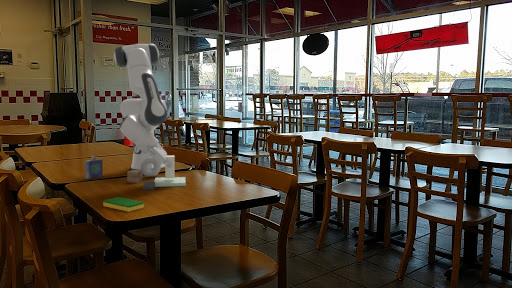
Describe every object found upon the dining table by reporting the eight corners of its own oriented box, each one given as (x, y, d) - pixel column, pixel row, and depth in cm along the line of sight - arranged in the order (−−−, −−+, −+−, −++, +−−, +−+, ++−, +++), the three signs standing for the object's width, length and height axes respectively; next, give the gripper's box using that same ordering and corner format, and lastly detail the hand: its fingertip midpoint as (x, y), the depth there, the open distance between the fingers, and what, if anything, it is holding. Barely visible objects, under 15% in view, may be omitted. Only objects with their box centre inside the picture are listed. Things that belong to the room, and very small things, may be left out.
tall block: (165, 176, 193) (165, 155, 192) (174, 176, 193) (174, 155, 192) (165, 178, 189) (165, 156, 188) (174, 178, 189) (174, 156, 188)
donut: (160, 175, 211) (159, 156, 210) (161, 176, 208) (161, 157, 207) (140, 176, 207) (139, 156, 206) (141, 177, 204) (140, 157, 203)
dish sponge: (128, 213, 142) (128, 206, 142) (102, 206, 150) (102, 200, 149) (144, 208, 148) (144, 202, 148) (118, 202, 156) (118, 196, 155)
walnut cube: (132, 180, 198) (132, 170, 197) (142, 180, 197) (142, 170, 196) (127, 182, 193) (127, 171, 192) (137, 182, 192) (137, 172, 191)
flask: (87, 179, 197) (86, 157, 196) (83, 179, 199) (83, 157, 198) (104, 177, 205) (103, 155, 204) (100, 176, 207) (99, 155, 206)
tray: (155, 180, 197) (155, 177, 197) (185, 180, 199) (185, 177, 199) (153, 186, 183) (153, 183, 183) (185, 186, 186) (185, 182, 186)
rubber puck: (148, 187, 182) (148, 180, 182) (157, 188, 180) (157, 181, 180) (140, 189, 178) (140, 182, 178) (149, 190, 176) (149, 183, 175)
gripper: (152, 142, 178) (175, 164, 181) (155, 138, 198) (176, 158, 201) (142, 152, 177) (165, 174, 180) (146, 147, 198) (167, 167, 200)
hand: (171, 166), depth 191 cm, fingers closed on tall block, 4 cm apart
